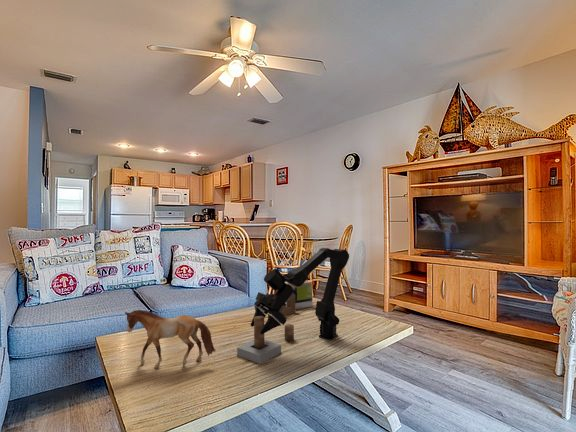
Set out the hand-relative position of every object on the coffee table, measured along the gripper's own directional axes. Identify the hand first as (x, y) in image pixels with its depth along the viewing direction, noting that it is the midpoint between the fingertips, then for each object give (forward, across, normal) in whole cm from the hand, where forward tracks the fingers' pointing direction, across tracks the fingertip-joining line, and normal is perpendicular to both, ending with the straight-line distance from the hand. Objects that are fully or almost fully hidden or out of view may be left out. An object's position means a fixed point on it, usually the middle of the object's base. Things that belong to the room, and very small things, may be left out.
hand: (255, 329), depth 117 cm
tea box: (-27, -47, +41) cm, 68 cm away
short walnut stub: (-6, -6, +20) cm, 22 cm away
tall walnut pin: (+6, 0, +8) cm, 10 cm away
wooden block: (-18, -38, +32) cm, 53 cm away
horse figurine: (+28, -5, -14) cm, 32 cm away
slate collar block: (+6, 0, +8) cm, 10 cm away
